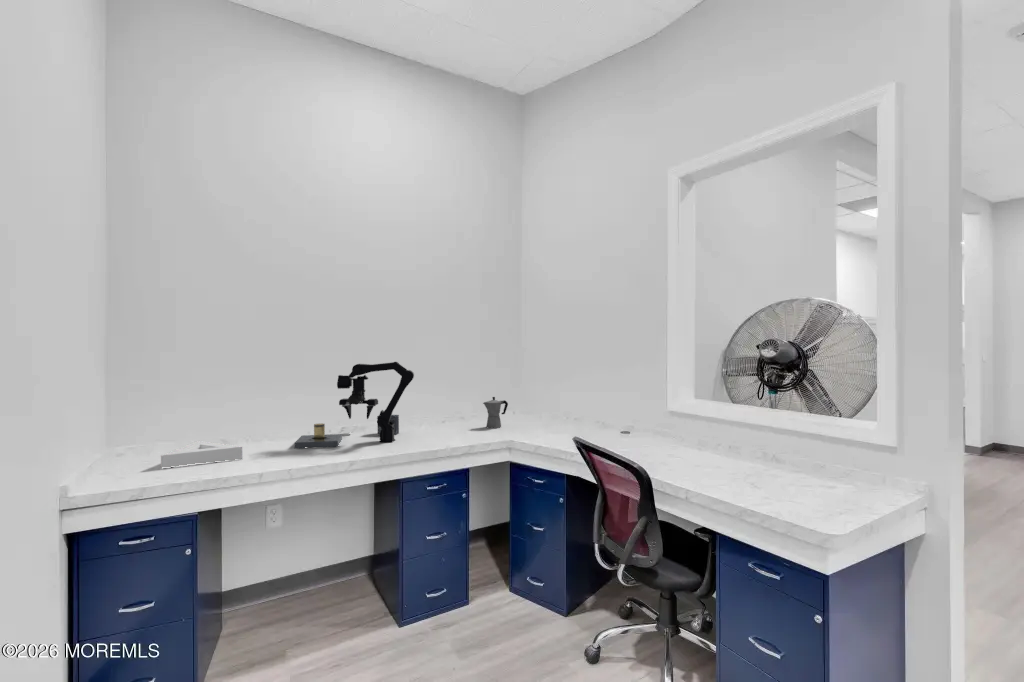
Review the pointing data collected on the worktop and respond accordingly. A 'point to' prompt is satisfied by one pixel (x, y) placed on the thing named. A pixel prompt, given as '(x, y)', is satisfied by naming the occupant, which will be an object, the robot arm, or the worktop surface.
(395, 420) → the small box
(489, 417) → the coffeepot
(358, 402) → the robot arm
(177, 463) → the triangle block
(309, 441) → the grey octagonal hole plate
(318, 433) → the cylinder
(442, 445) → the worktop surface
